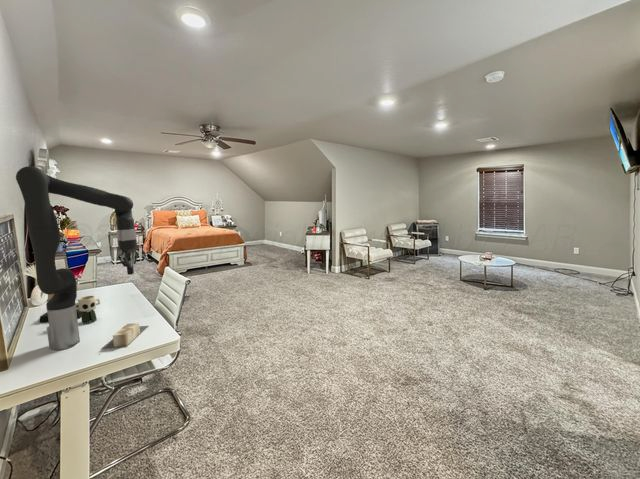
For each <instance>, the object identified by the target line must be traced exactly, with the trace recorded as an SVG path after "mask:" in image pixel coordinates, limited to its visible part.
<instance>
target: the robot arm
mask: <svg viewBox="0 0 640 479" xmlns="http://www.w3.org/2000/svg"><path fill="white" fill-rule="evenodd" d="M15 181H16V182H17V184H18V187H19V190H20V192H21V195H22V197H23V201H24V205H25V207H24V208H25V218H26V219H25V220H26V224H27V230H28V236H29V240H30V242H31V247H32V248H31V249H32V252H33V256H34V264H35V275H36V282H37V286H38V288H39V290H40V291H41V293H43V294H46V295H52V297H51V298H50V299H49V300H48V301H47V302H46V305H45V306H46V312H47V314H48V321H49V322H48V326H47V327H46V331H47V332H46V334H47V341H48V346H49V349H50V350H53V351H54V350H55V351H61V350H65V349H66V350H67V349H69V348H72V347H75V346H76V345H77V344H79V343H80V342H81V338H80V331H79V330H80V329H79V323H78V321H79V320H78V319H77V313H76V305H75V303H76V300H77V297H78V294H77V293H78V290H77V279H76V275H75V273H74V272H73V271H72V270H71V269H69V268H65V267H64V268H63V267H62V268H59V269H57V265H56V255H57V251H58V249H59V246H60V243H61V236H62V235H61V233H60V226H59V223H58V219H57V216H56V214H55V212H54V209H53V207H52V203H51V201H50V195H49V194H53V195H57V196H63V197H67V198H70V199H74V200H76V201H77V200H78V201H81V202H84V203H88V204H91V205H96V206H100V207H106V208H108V209H109V208H110V209H112V210H113V209H114V212H115V213H114V214H115V217H116V230H117V232H116V236H117V237H116V238H117V244H118V245H117V246H118V249H119V250H121V257H119V258H118V259H119V262H120V263H121V265H122V266H123V267H124V268H125V267H126V272H127V275H129V276H130V275H134V273H135V270H134V266H135V265H136V263H137V260H138V257H139V253H138V252H136V249H137V248H138V241H137V233H136V228H135V220H134V217H133V212H132V211H133V210H132V209H133V208H134V202H133V200H132V198H130V197H127V196H125V195H121V194H117V193H112V192H108V191H107V190H103V189H99V188H95V187H91V186H88V185H84V184H78V183H74V182H69V181H65V180H61V179H58V178H56V177H53V176H52V175H51V176H50V175H48V174H46V172H45V171H44V170H42V169H40V168H38V167H37V166H32V165H31V166H30V165H29V166H23V167H22V168H19V170H18V171H17V172H16V174H15Z"/></svg>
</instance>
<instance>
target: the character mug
mask: <svg viewBox="0 0 640 479" xmlns="http://www.w3.org/2000/svg"><path fill="white" fill-rule="evenodd" d="M75 305H79V307H78V308H76V310H78V309H79V310H80V311H83V312H82V317H81V323H82V324H90V323H91V322H92V323H93V322H95V321H96V322H97V315H96V311H95V309H96V308H97V306H99V305H101V298H96V296H95V295H86V296H82V297H78V298H77V302H75Z"/></svg>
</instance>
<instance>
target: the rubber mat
mask: <svg viewBox="0 0 640 479" xmlns="http://www.w3.org/2000/svg"><path fill="white" fill-rule="evenodd" d="M139 328H140V334H139V335H138V336H137V337H136V338H135V339H134V340H132V341H131V342H130V343H129V344H128V345H127V346H117V347H114V342H113V338H112V339H111V340H110V341H108V342H107V343H106V344H105V345H104V346H102V347H101V348H100V350H110V349H111V350H112V349H123V348H124V349H125V348H128V346H130V345H131V344H132V343H133V342H134V341H135V340H136V339H137V338H138V337H140V335H141V334H142V333H143V332H144V331H146V330H147V329H148V328H149V325H139Z"/></svg>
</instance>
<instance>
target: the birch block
mask: <svg viewBox="0 0 640 479" xmlns="http://www.w3.org/2000/svg"><path fill="white" fill-rule="evenodd" d="M139 326H140V322H136V323H127V324H125V325H124V326H122V327H121V328H120V329H118V330H117V332H115V333H114V334H112V339H113V342H114V347H117V346H127V345H128V344H129V343H130V342H131V341H132V340H134V339H135V338H136V337H137V336H138V335H139V334H140V328H139ZM140 335H141V334H140ZM140 335H139V336H140ZM139 336H138V337H139ZM138 337H137V338H138ZM137 338H136V339H137ZM136 339H135V340H136ZM135 340H134V341H135ZM129 345H130V344H129ZM129 345H128V346H129ZM128 346H127V347H128Z"/></svg>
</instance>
